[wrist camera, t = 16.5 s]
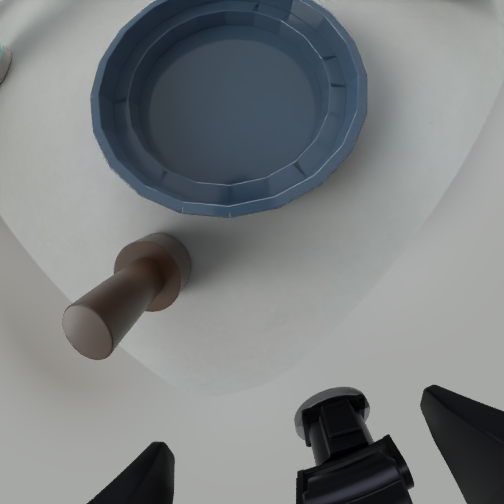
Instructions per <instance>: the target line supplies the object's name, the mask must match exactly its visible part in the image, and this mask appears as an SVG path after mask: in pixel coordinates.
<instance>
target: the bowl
mask: <svg viewBox="0 0 504 504" xmlns="http://www.w3.org/2000/svg"><path fill="white" fill-rule="evenodd" d="M90 99H91V113H92V125H93V133H94V136H95V138H96V140H97V142H98V144H99V146H100V148H101V150H102V152H103V155H104V157H105V159H106V161H107V163H108V165H109V167H110V168H111V169H112V170H113V171H114V172H115V173H116V174H117V175H118V176H119V177H120V178H121V179H122V180H123V181H124V182H126V183H127V184H128V185H129V186H130V187H131V188H132V189H133V190H134V191H135V192H136V193H137V194H138V195H140V196H142V197H144V198H146V199H149V200H151V201H153V202H156V203H158V204H160V205H162V206H165V207H167V208H169V209H172V210H174V211H176V212H179V213H182V214H191V215H202V216H213V217H223V218H229V217H230V218H233V217H238V216H242V215H247V214H252V213H257V212H262V211H267V210H272V209H277V208H278V207H282V206H283V205H285V204H287V203H289V202H291V201H293V200H294V199H296V198H298V197H300V196H302V195H303V194H305V193H307V192H309V191H311V190H313V189H314V188H316V187H318V186H320V185H321V184H322V183H323V182H324V181H325V180H326V179H327V178H328V177H329V176H330V175H331V174H332V173H333V171H334V170H335V169H336V168H337V167H338V166H339V165H340V164H341V163H342V162H343V161H344V160H345V158H346V157H347V156H348V155H349V154H350V153H351V151H352V149H353V147H354V145H355V142H356V140H357V137H358V135H359V133H360V130H361V128H362V125H363V123H364V120H365V118H366V114H367V74H366V71H365V69H364V66H363V63H362V60H361V57H360V55H359V52H358V50H357V47H356V44H355V42H354V41H353V39H352V38H351V37H350V35H349V34H348V33H347V32H346V30H345V29H344V28H343V27H342V26H341V24H340V23H339V22H338V21H337V20H336V18H335V17H334V16H333V15H332V14H331V13H330V12H329V11H327V10H326V9H324V8H323V7H321V6H320V5H318V4H317V3H315V2H314V1H312V0H156V1H154V2H152V3H150V4H149V5H148V6H146V7H145V8H144V9H143V10H141V11H140V12H139V13H138V14H137V15H136V16H134V17H133V18H132V19H131V20H130V21H129V22H128V23H127V24H126V25H125V26H123V27H122V28H121V30H120V31H119V32H118V33H117V35H116V36H115V38H114V39H113V41H112V42H111V44H110V46H109V47H108V49H107V50H106V52H105V54H104V55H103V57H102V59H101V60H100V62H99V66H98V69H97V72H96V76H95V80H94V84H93V88H92V92H91V97H90Z"/></svg>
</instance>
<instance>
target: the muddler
mask: <svg viewBox="0 0 504 504" xmlns="http://www.w3.org/2000/svg"><path fill="white" fill-rule="evenodd" d="M190 272H191V262H190V258H189V255H188V253H187V251H186V249H185V247H184V246H183V245H182V244H181V243H180V242H179V241H178V240H177V239H175V238H174V237H172V236H170V235H167V234H162V233H155V234H150V235H148V236H145V237H143V238H141V239H139V240H137V241H135V242H133V243H131V244H129V245H127V246H126V247H124V248H123V249H122V250H121V252H120V253H119V255H118V256H117V259H116V261H115V265H114V275H113V276H111V277H110V278H108V279H107V280H105V281H104V282H102V283H101V284H99V285H98V286H97V287H95V288H94V289H92V290H91V291H89V292H88V293H87V294H85V295H84V296H82V297H81V298H80V299H78V300H77V301H75V302H74V303H73V304H71V305H70V306H69V307H68V308H67V309H66V310H65V312H64V315H63V329H64V332H65V335H66V337H67V339H68V340H69V342H70V343H71V345H72V346H73V347H74V348H75V349H76V350H77V351H78V352H79V353H80V354H82V355H84V356H86V357H88V358H90V359H94V360H101V359H105V358H107V357H108V356H109V355H110V354H111V353H112V352H113V350H114V349H115V348H116V347H117V345H118V344H119V343H120V341H121V340H122V339H123V338H124V336H125V335H126V334H127V332H128V331H129V330H130V329H131V327H132V326H133V325H134V324H135V322H136V321H137V320H138V319H139V317H140V316H141V315H142V314H143V312H144V311H149V312H154V311H160V310H163V309H165V308H167V307H169V306H170V305H171V304H172V303H173V302H174V301H175V300H176V298H177V297H178V295H179V294H180V292H181V290H182V289H183V287H184V286H185V284H186V283H187V281H188V279H189V276H190Z"/></svg>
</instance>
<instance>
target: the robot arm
mask: <svg viewBox="0 0 504 504" xmlns="http://www.w3.org/2000/svg"><path fill="white" fill-rule="evenodd" d="M360 398H361V399H360ZM365 400H366V398H365V396H364V394H359V395H355V396H352V397H349V398H345V399H342V400H338V401H335V402H331V403H327V404H323V405H319V406H315V407H311V408H307V409H304V410H302V411H301V416H302V422H303V429H304V435H305V442H306V446H308V447H311V446H312V450H313V454H314V459H315V463H316V466H315V467H313V468H309V469H306V470H300V471H298V472H297V473H298V474H297V475H298V476H297V478H296V504H413V503H412V500H411V498H410V495H409V493H408V489H411V488H412V487H414V482H413V478H412V476H411V473H410V470H409V468H408V466H407V464H406V462H405V460H404V458H403V457H402V455H401V453H400V452H399V450H398V449H397V447H396V445H395V444H394V442H393V440H392V439H391V437H390V435H386V436H384V437H383V438H382V439H380V440H378V441H376V442H374V441H373V439H372V437H371V435H370V432H369V430H368V428H367V426H366V424H365V422H364V414H365ZM420 407H421V410H422V413H423V415H424V417H425V420H426V422H427V425H428V427H429V429H430V432H431V434H432V437H433V439H434V441H435V443H436V445H437V447H438V449H439V450H440V452H441V454H442V456H443V457H444V460H445V461H446V463H447V465H448V467H449V469H450V471H451V473H452V475H453V476H454V478H455V480H456V482H457V484H458V486H459V488H460V490H461V492H462V494H463V496H464V498H465V501H466V503H467V504H504V411H501V410H499V409H496V408H493V407H491V406H488V405H485V404H483V403H480V402H477V401H474V400H472V399H470V398H467V397H464V396H462V395H459V394H457V393H454V392H452V391H450V390H447V389H445V388H442V387H440V386H437V385H431V386H429V387H427V388H426V389H424V391H423V395H422V400H421V404H420ZM305 413H306V414H305ZM174 464H175V459H174V455H173V453H172V452H171V450H170V449H169V448H168V446H167V445H166V443H164V442H153V443H151V444H150V445H149V446H148V447H147V448H146V449H145V450H144V451H143V452H142V453H141V454H140V455H139V456H138V457H137V458H136V459H135V460H134V461H133V462H132V463H131V464H130V465H129V466H128V467H127V468H126V469H125V470H124V471H123V472H121V474H119V475H118V476H117V477H116V478H115V479H114V480H113V481H112V482H111V483H110V484H109V485H108V486H106V487H105V488H104V489H103V490H102V491H101V492H100V493H99V494H97V495H96V496H95V497H94V499H92V500H91V501H89V502H88V503H87V504H173V496H174Z"/></svg>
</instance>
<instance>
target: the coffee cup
mask: <svg viewBox="0 0 504 504" xmlns="http://www.w3.org/2000/svg"><path fill="white" fill-rule="evenodd" d="M10 62H11V51H10V50H8V49H7V48H5V47H4V46H3V45H1V44H0V83H1V82H2V80H3V78H4V77H5V75H6V73H7V70H8V68H9V65H10Z"/></svg>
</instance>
